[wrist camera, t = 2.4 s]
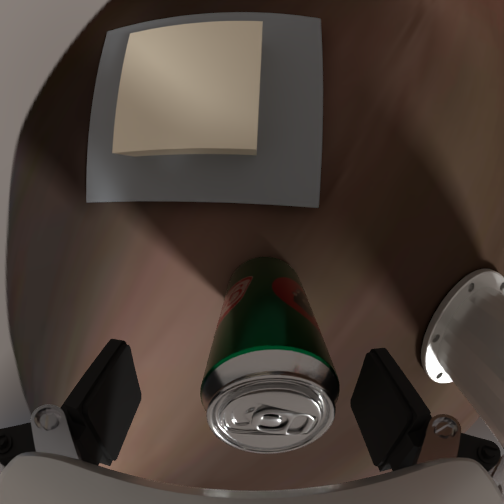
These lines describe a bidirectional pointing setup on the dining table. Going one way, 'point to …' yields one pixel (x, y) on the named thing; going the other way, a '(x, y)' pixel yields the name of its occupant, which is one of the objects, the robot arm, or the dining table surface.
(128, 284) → the dining table surface
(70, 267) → the dining table surface
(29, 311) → the dining table surface
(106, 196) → the build base
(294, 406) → the soda can
